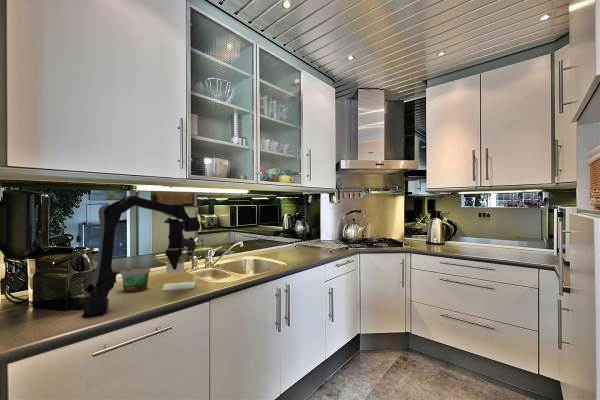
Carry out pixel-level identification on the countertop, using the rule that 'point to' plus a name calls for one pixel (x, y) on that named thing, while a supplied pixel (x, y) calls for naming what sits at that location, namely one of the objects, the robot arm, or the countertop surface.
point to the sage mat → (178, 286)
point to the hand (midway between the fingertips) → (175, 268)
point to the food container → (135, 280)
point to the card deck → (179, 268)
